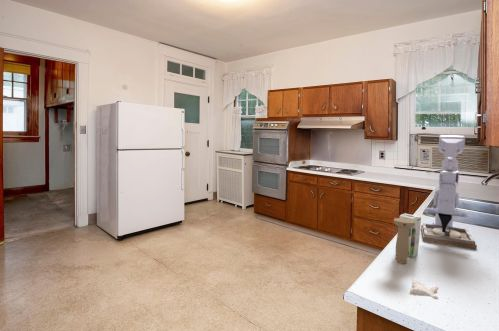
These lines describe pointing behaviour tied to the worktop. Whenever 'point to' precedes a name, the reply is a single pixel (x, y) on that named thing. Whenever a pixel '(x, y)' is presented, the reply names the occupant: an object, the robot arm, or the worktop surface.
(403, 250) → the handle
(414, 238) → the syrup box
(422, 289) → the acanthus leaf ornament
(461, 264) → the worktop surface
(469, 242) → the dial housing
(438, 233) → the dial
